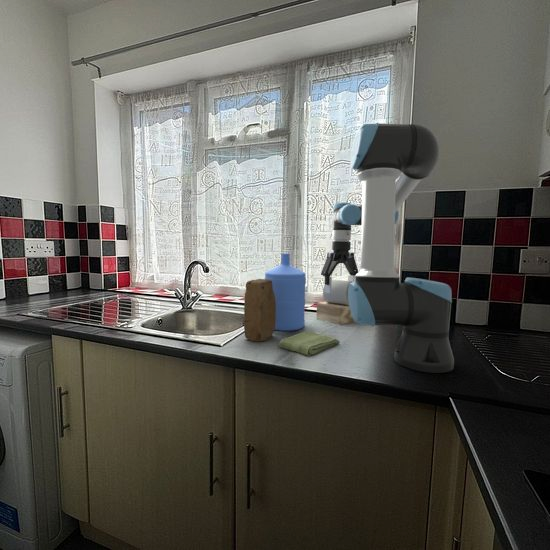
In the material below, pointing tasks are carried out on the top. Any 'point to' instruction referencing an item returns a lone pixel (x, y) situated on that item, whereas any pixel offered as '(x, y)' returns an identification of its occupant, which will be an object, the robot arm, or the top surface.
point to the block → (259, 310)
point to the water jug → (288, 295)
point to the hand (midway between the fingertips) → (339, 291)
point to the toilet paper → (337, 292)
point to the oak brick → (334, 312)
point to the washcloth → (308, 342)
